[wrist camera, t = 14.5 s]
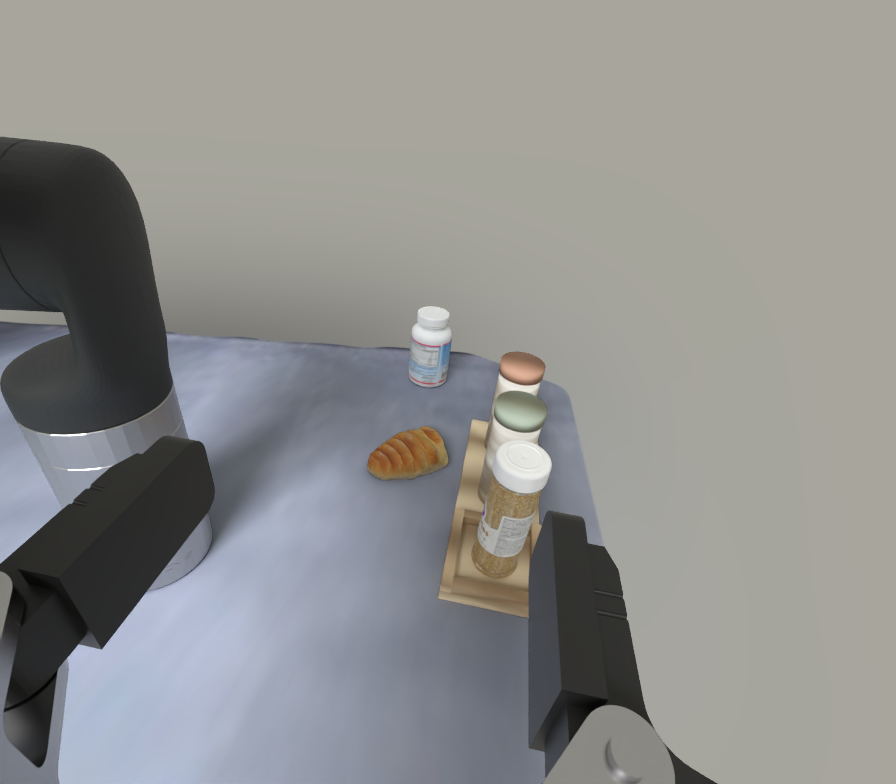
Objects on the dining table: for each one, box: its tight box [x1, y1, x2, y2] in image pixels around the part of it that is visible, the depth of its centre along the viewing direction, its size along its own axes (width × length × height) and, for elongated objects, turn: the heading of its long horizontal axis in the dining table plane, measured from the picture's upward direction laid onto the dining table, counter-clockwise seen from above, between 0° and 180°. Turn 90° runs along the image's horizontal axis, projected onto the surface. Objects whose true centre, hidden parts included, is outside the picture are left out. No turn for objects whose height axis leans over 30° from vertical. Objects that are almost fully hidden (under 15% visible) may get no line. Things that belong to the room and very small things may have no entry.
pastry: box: [367, 426, 449, 480], centre depth 54 cm, size 9×7×4 cm
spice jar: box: [471, 440, 552, 578], centre depth 40 cm, size 5×5×14 cm
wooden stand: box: [438, 352, 547, 618], centre depth 47 cm, size 26×9×14 cm, turn 171°
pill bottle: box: [408, 306, 452, 387], centre depth 68 cm, size 6×6×11 cm
